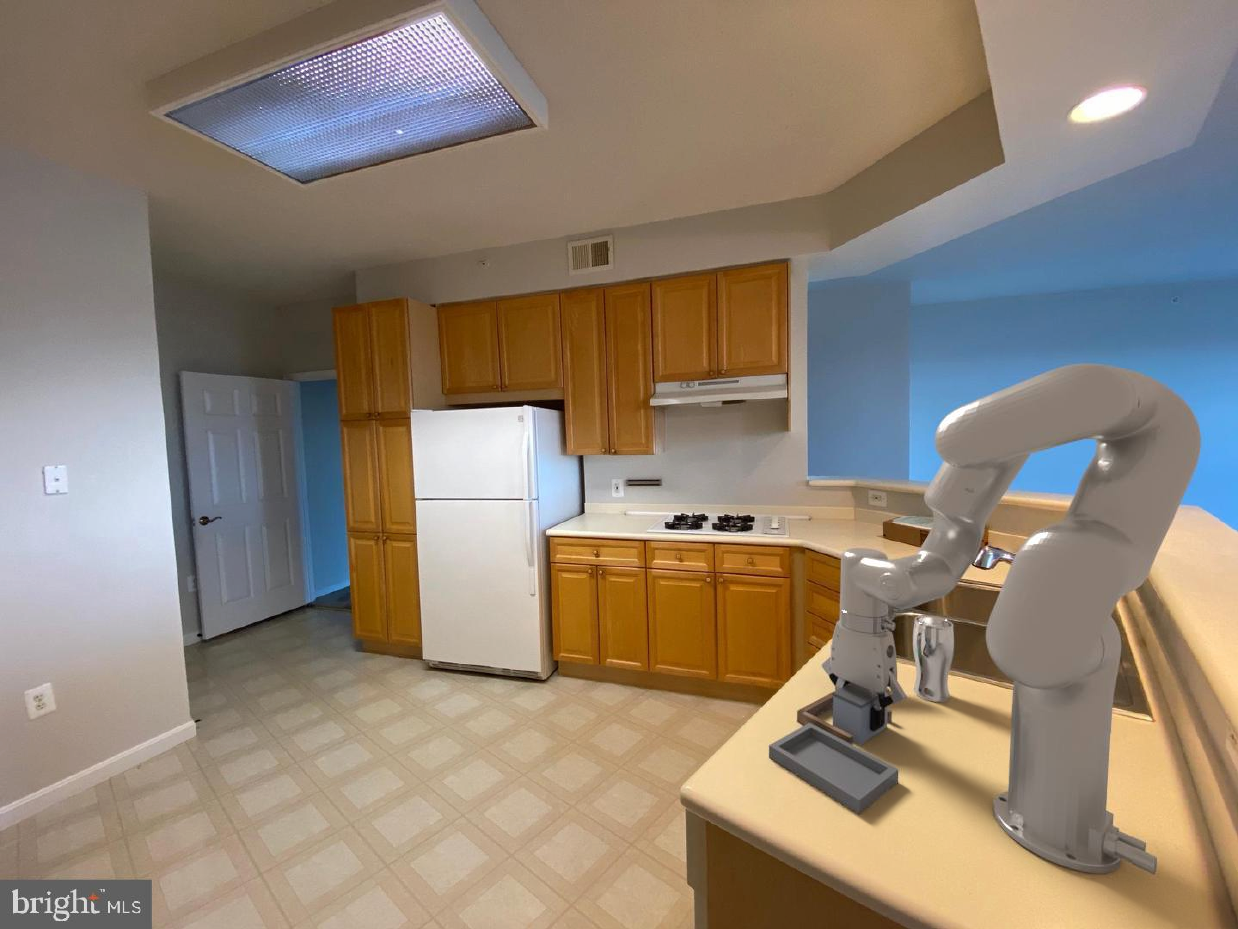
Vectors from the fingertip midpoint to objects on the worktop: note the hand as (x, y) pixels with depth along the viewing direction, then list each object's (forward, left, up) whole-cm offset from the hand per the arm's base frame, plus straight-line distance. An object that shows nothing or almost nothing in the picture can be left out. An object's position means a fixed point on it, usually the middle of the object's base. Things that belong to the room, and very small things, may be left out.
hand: (860, 719), depth 88 cm
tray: (-3, +14, -2) cm, 14 cm away
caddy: (0, 0, -2) cm, 2 cm away
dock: (+3, 0, -2) cm, 3 cm away
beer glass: (-2, -23, -2) cm, 23 cm away
